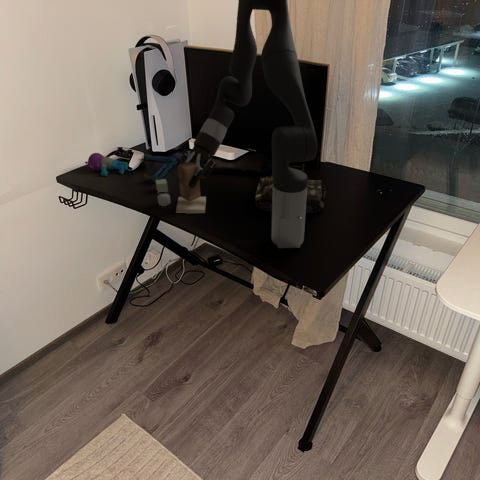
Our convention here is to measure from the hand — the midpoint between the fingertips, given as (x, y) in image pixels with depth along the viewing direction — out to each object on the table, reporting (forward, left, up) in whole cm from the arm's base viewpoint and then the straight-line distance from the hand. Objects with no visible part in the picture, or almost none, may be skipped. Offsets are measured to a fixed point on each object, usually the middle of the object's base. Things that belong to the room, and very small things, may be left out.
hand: (185, 184), depth 142 cm
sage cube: (+13, +10, -9) cm, 19 cm away
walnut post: (+1, -1, -5) cm, 6 cm away
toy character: (+30, +10, -9) cm, 33 cm away
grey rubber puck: (+3, +8, -9) cm, 12 cm away
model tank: (+2, -34, -9) cm, 35 cm away
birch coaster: (+1, -1, -8) cm, 9 cm away
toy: (+32, +33, -9) cm, 47 cm away
